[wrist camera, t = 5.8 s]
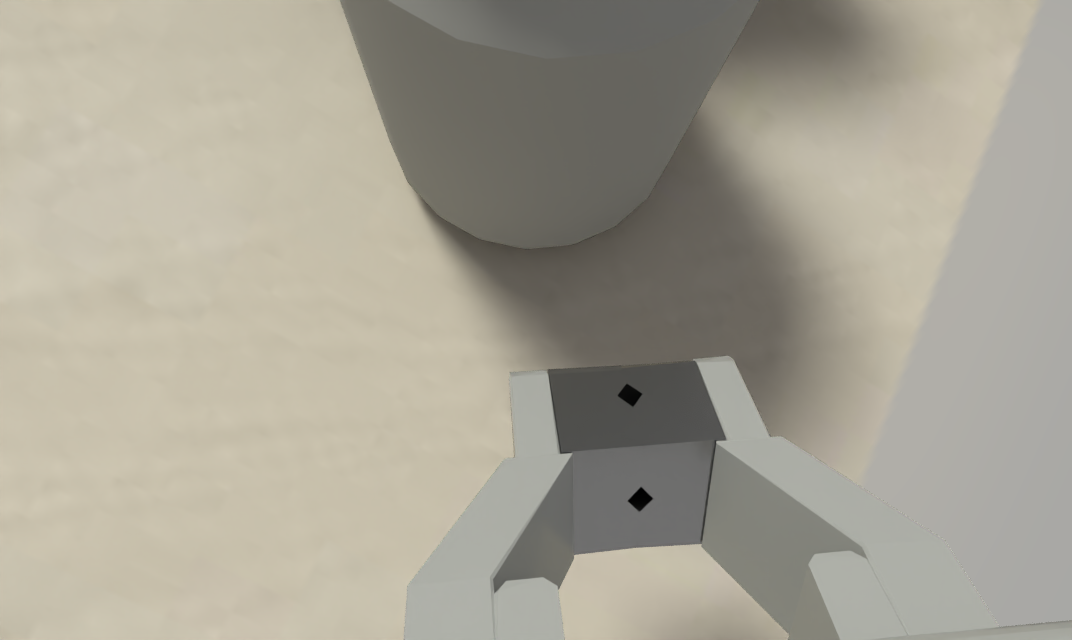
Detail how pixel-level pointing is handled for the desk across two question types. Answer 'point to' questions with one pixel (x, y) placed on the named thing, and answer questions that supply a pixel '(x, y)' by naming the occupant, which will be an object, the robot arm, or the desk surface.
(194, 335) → the desk surface
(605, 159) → the can
